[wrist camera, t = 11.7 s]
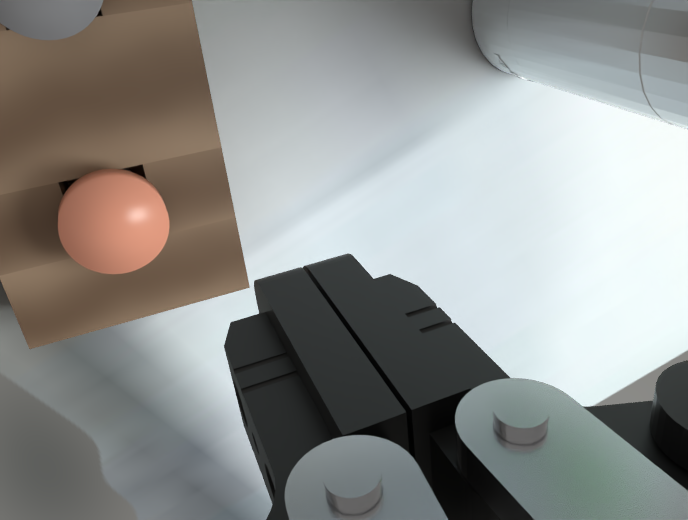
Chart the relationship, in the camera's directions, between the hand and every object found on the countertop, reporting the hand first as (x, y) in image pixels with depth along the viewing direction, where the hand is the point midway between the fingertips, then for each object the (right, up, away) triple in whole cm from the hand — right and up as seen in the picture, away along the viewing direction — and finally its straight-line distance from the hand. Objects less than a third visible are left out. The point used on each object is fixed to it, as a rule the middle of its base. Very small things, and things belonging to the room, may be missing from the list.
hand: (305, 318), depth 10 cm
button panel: (-13, +10, +24) cm, 29 cm away
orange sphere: (-12, +5, +25) cm, 28 cm away
